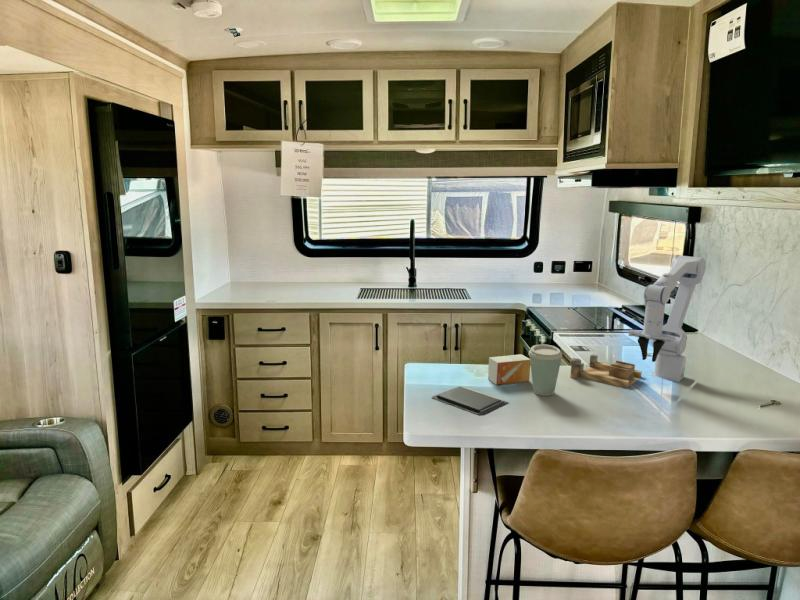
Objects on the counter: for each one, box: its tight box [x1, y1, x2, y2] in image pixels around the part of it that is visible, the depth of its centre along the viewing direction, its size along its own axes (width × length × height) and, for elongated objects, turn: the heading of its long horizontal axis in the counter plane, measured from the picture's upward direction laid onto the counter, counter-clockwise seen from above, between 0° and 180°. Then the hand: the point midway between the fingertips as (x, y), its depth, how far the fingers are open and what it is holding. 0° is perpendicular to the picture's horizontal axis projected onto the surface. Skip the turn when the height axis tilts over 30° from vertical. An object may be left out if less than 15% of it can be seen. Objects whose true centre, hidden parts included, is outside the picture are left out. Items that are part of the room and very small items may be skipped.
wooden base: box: [569, 354, 642, 389], centre depth 201 cm, size 19×19×7 cm
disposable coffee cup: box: [528, 343, 563, 397], centre depth 186 cm, size 11×11×15 cm
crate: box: [609, 360, 636, 381], centre depth 199 cm, size 6×8×5 cm
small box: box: [487, 353, 531, 386], centre depth 197 cm, size 8×6×13 cm
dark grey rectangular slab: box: [431, 386, 510, 417], centre depth 179 cm, size 20×2×15 cm
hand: (649, 360), depth 193 cm, fingers open, 2 cm apart
